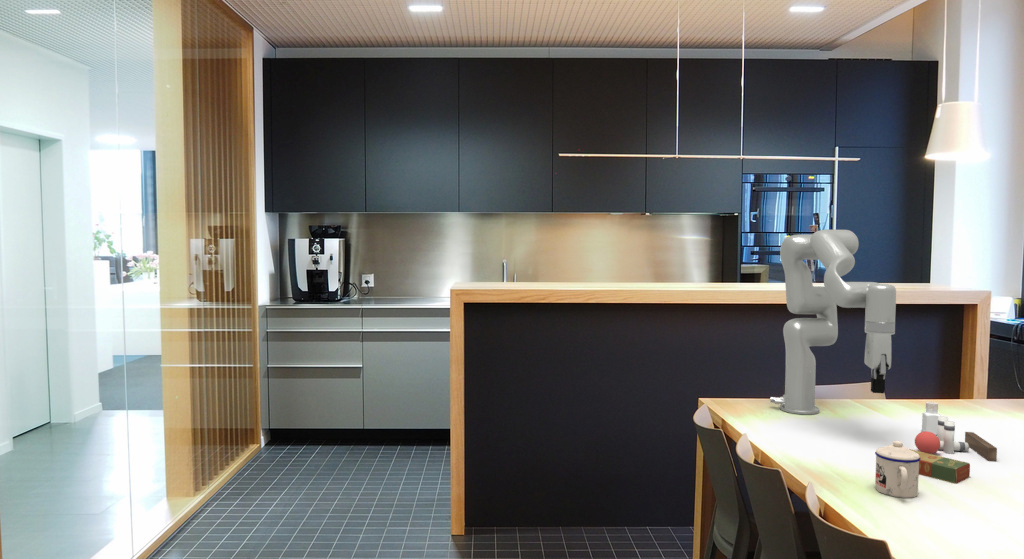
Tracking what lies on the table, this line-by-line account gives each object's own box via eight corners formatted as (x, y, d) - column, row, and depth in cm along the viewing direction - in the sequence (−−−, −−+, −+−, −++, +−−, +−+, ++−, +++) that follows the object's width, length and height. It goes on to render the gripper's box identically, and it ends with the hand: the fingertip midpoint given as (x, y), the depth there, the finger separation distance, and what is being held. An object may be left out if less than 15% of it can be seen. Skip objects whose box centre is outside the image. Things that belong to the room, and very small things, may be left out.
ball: (935, 460, 189) (911, 451, 193) (942, 440, 191) (918, 431, 194) (936, 454, 184) (911, 444, 188) (944, 433, 186) (919, 425, 189)
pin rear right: (944, 453, 189) (945, 422, 189) (941, 450, 192) (942, 420, 191) (955, 454, 189) (956, 423, 188) (952, 451, 191) (953, 421, 191)
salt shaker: (940, 436, 207) (942, 404, 206) (926, 435, 207) (927, 404, 207) (935, 432, 210) (936, 401, 210) (921, 431, 211) (922, 401, 211)
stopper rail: (987, 460, 183) (988, 447, 183) (964, 443, 199) (965, 431, 199) (996, 461, 183) (997, 448, 183) (972, 444, 198) (973, 432, 198)
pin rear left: (938, 448, 194) (939, 418, 194) (935, 445, 197) (936, 416, 196) (948, 448, 194) (949, 418, 193) (945, 446, 196) (946, 416, 196)
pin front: (935, 443, 192) (969, 445, 190) (932, 438, 194) (966, 440, 192) (933, 451, 193) (968, 453, 191) (930, 446, 195) (964, 448, 193)
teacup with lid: (870, 483, 166) (872, 434, 165) (913, 487, 163) (915, 438, 163) (881, 500, 154) (882, 449, 154) (927, 505, 152) (929, 452, 151)
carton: (901, 462, 183) (902, 446, 183) (970, 479, 170) (971, 461, 170) (886, 468, 178) (887, 451, 178) (956, 485, 165) (956, 468, 165)
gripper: (858, 324, 204) (857, 386, 205) (871, 330, 189) (869, 397, 190) (887, 325, 202) (885, 388, 203) (902, 331, 187) (899, 399, 188)
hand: (877, 392), depth 196 cm, fingers closed
